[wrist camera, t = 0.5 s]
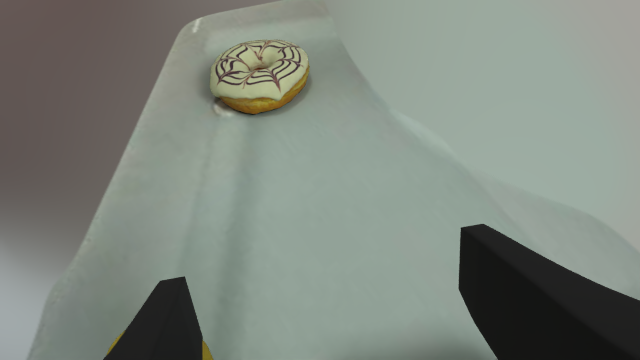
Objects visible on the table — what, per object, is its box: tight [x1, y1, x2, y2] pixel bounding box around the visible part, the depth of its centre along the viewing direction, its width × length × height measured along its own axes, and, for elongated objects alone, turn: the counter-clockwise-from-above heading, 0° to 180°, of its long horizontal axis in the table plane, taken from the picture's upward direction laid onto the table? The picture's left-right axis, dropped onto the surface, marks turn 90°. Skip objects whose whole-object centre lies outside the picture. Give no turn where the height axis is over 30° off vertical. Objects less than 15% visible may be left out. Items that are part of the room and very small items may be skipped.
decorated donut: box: [210, 40, 310, 114], centre depth 52 cm, size 10×11×4 cm
